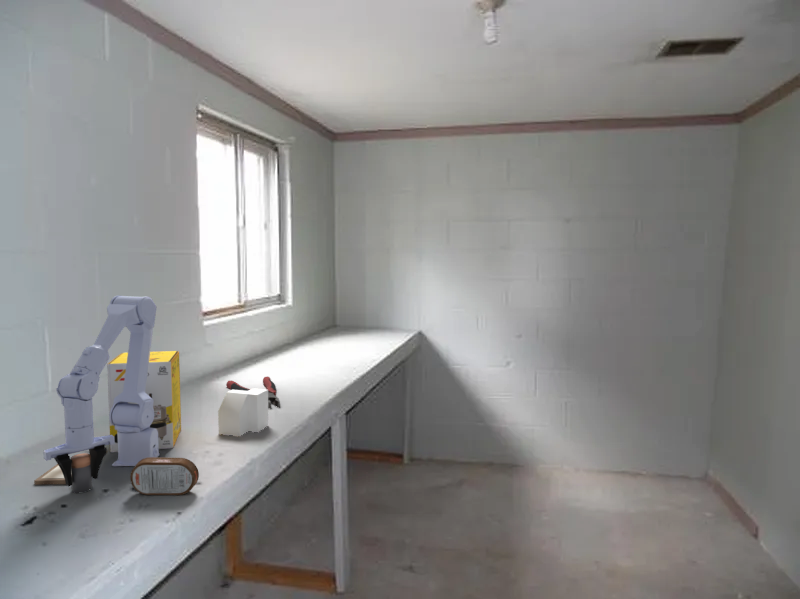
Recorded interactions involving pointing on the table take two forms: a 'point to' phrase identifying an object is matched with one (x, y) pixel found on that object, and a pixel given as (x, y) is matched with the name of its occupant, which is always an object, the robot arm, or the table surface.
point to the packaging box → (153, 394)
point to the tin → (164, 476)
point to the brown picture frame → (51, 477)
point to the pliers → (270, 388)
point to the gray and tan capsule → (81, 472)
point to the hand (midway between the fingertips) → (81, 481)
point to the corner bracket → (243, 412)
